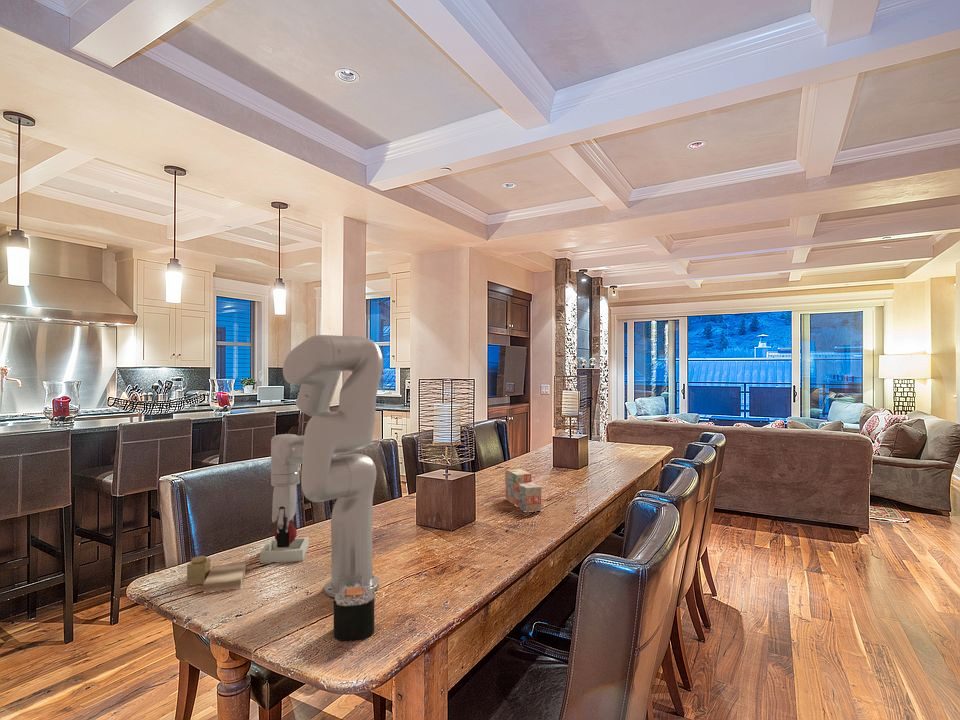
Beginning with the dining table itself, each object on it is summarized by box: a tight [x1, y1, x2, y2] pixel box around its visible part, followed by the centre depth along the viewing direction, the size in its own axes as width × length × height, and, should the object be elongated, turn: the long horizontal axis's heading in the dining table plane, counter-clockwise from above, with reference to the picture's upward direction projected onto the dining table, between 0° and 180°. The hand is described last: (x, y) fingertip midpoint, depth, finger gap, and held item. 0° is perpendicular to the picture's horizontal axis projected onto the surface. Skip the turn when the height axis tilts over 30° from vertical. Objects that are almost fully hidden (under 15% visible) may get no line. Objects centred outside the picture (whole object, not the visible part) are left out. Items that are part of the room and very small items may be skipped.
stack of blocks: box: [504, 468, 542, 512], centre depth 197 cm, size 21×6×12 cm, turn 17°
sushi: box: [332, 585, 376, 643], centre depth 103 cm, size 8×8×8 cm
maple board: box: [202, 561, 247, 594], centre depth 128 cm, size 12×8×2 cm, turn 18°
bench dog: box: [186, 555, 211, 586], centre depth 128 cm, size 4×4×6 cm
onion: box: [273, 519, 298, 544], centre depth 145 cm, size 6×6×8 cm
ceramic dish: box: [259, 536, 310, 564], centre depth 146 cm, size 11×11×3 cm
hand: (285, 542), depth 145 cm, fingers open, 6 cm apart
